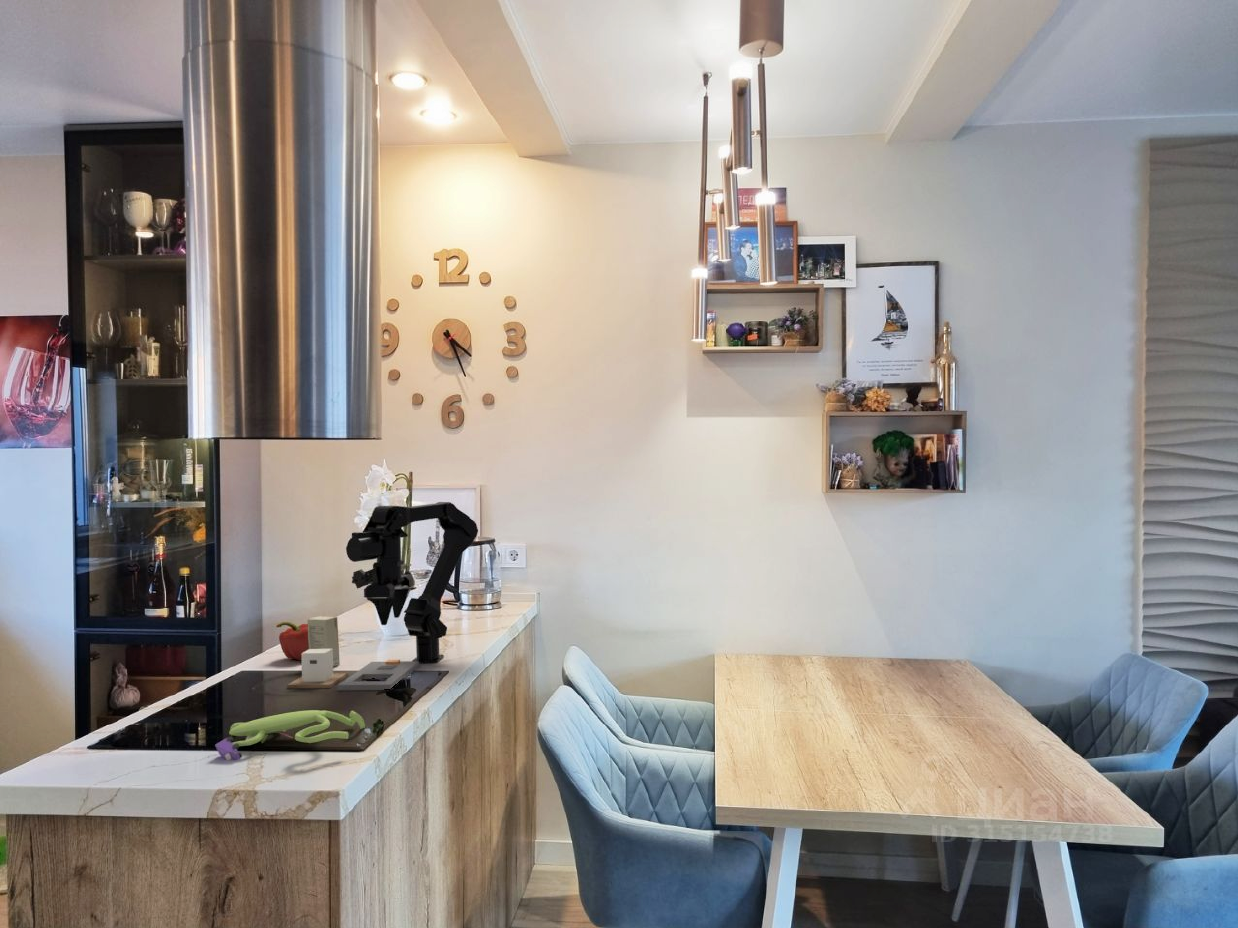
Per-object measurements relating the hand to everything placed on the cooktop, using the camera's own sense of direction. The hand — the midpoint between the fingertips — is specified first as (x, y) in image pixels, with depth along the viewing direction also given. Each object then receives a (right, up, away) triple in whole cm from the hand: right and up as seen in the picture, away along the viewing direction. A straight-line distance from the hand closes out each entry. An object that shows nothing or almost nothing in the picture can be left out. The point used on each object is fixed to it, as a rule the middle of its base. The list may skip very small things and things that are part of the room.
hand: (390, 621), depth 198 cm
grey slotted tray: (-1, -12, -6) cm, 13 cm away
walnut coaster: (-14, -12, -9) cm, 21 cm away
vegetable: (-28, -13, +15) cm, 34 cm away
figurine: (-3, -13, -51) cm, 52 cm away
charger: (-14, -12, -9) cm, 21 cm away
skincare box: (-18, -13, +6) cm, 23 cm away
